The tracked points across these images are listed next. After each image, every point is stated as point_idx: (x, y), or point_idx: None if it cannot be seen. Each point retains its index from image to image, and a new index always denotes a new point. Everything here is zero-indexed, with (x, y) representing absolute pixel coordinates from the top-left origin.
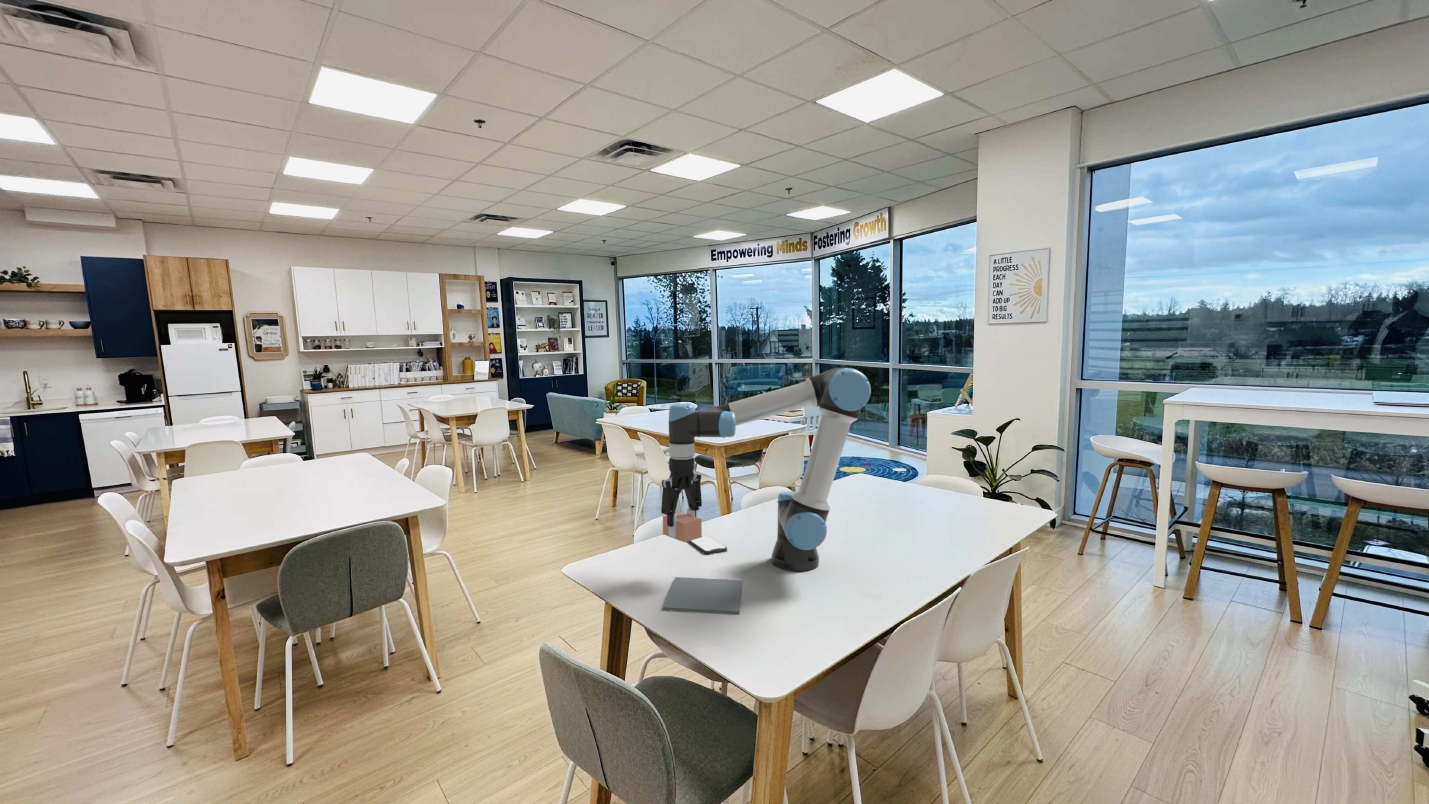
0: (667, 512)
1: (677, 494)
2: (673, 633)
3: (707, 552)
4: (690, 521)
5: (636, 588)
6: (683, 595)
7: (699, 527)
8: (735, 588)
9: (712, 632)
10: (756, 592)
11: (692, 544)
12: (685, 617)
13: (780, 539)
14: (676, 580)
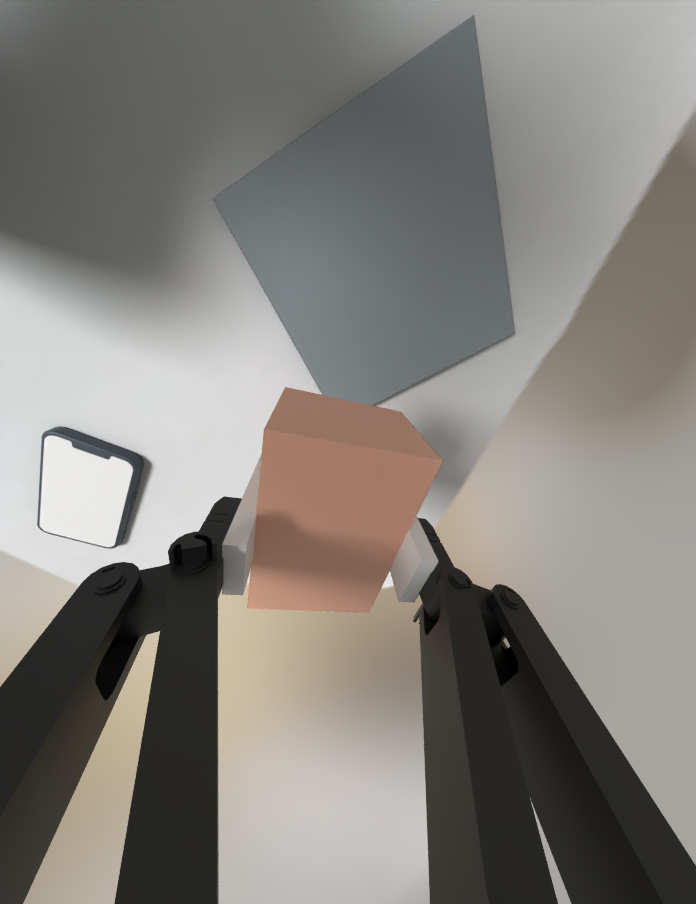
0: (521, 606)
1: (524, 880)
2: (632, 209)
3: (133, 458)
4: (377, 458)
5: None
6: (430, 328)
7: (296, 409)
8: (296, 180)
9: (621, 60)
10: (248, 69)
11: (126, 521)
12: (534, 240)
13: None
14: None
